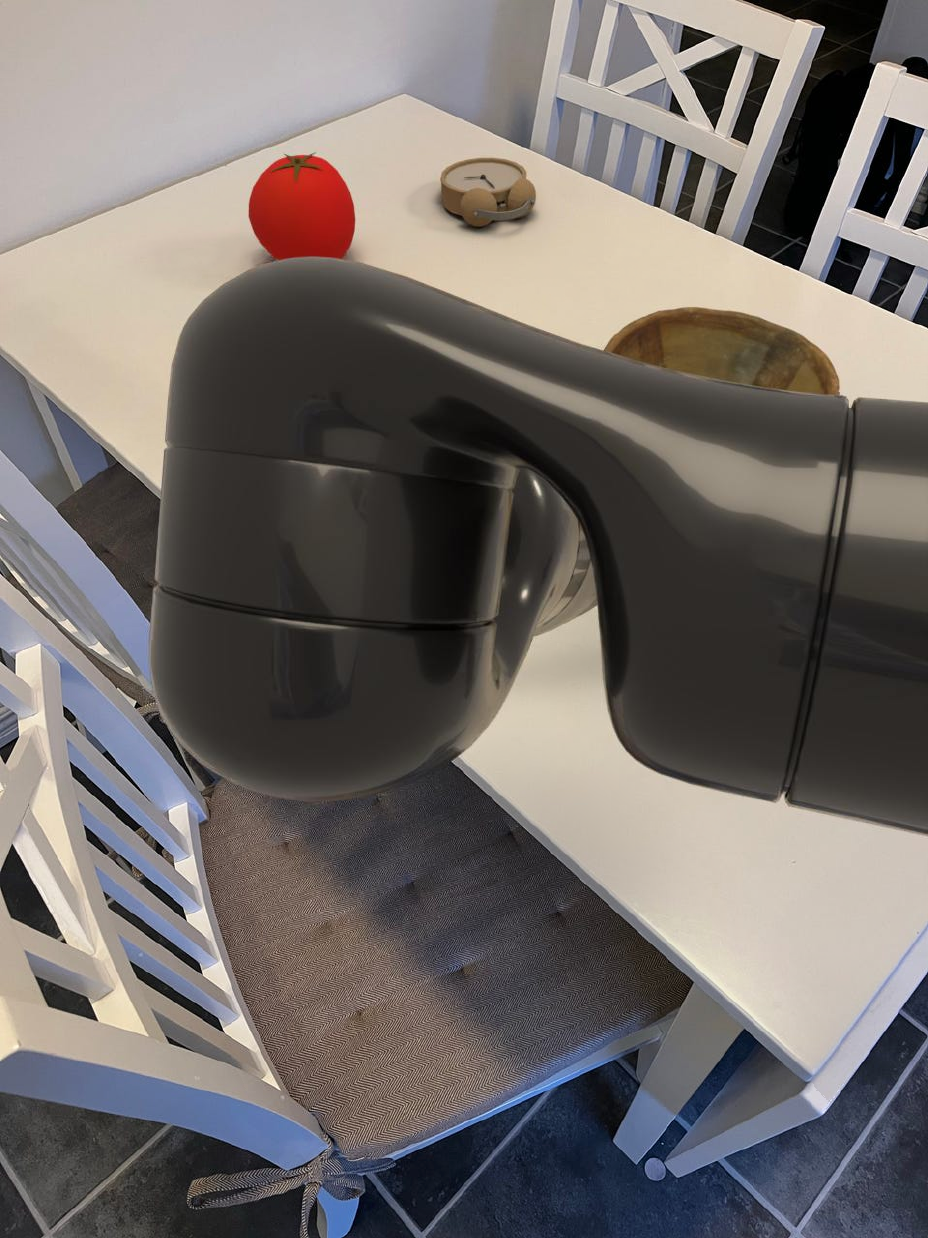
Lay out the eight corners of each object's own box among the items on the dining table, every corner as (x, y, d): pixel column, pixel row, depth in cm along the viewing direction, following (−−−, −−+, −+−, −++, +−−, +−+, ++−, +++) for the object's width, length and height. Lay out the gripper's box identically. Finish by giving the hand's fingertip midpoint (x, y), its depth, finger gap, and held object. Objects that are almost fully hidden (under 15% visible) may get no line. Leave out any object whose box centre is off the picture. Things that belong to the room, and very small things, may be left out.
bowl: (862, 481, 87) (900, 398, 79) (675, 576, 80) (697, 495, 73) (712, 362, 99) (732, 279, 91) (538, 436, 92) (543, 353, 84)
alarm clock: (505, 150, 123) (552, 180, 112) (506, 188, 126) (553, 221, 116) (427, 166, 120) (468, 199, 110) (431, 205, 124) (471, 240, 113)
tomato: (362, 235, 116) (350, 133, 106) (358, 286, 109) (345, 182, 99) (265, 238, 116) (244, 136, 106) (255, 290, 109) (232, 186, 99)
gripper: (340, 580, 37) (463, 566, 53) (659, 683, 33) (684, 634, 50) (386, 396, 35) (497, 440, 52) (722, 484, 32) (727, 501, 49)
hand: (589, 535), depth 51 cm, fingers closed
